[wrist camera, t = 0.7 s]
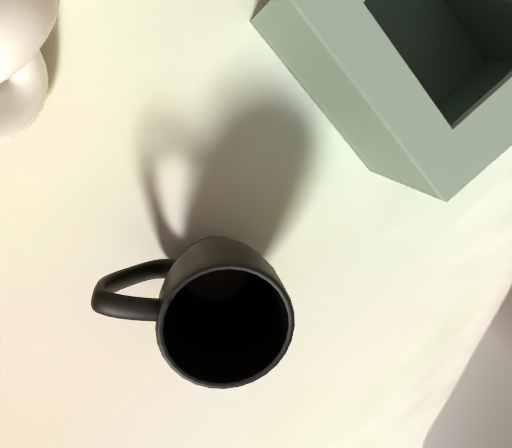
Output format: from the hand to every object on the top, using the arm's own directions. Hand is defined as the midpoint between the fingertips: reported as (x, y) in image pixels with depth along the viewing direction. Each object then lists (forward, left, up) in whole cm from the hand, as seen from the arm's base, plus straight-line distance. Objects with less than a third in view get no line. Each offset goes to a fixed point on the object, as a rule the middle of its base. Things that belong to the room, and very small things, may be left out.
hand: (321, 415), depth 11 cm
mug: (+2, -6, -25) cm, 26 cm away
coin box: (-1, +15, -25) cm, 29 cm away
